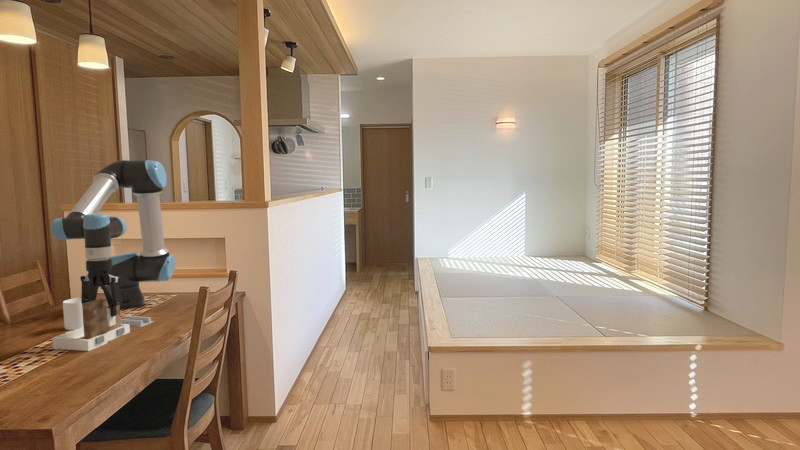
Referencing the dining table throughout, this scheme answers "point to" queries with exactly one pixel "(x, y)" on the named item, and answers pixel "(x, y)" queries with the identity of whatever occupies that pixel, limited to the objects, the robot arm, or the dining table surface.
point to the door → (97, 318)
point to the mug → (73, 314)
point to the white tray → (77, 341)
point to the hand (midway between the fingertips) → (102, 324)
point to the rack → (136, 321)
